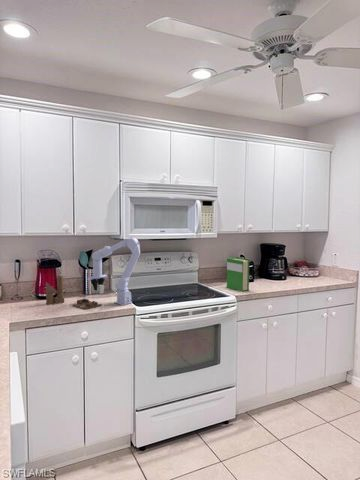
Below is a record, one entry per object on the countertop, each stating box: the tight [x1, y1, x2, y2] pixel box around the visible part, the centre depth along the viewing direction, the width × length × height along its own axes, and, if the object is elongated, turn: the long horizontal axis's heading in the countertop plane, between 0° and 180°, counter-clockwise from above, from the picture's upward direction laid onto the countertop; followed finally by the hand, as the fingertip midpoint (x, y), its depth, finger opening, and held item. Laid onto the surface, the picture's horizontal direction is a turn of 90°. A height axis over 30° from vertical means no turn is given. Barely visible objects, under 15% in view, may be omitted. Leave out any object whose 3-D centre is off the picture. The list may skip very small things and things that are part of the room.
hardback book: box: [226, 257, 250, 293], centre depth 276 cm, size 18×7×24 cm, turn 34°
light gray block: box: [90, 283, 105, 295], centre depth 232 cm, size 10×3×5 cm, turn 49°
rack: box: [72, 298, 103, 311], centre depth 223 cm, size 14×12×3 cm
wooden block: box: [45, 274, 65, 306], centre depth 228 cm, size 4×11×18 cm, turn 124°
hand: (97, 289), depth 232 cm, fingers closed on light gray block, 3 cm apart
